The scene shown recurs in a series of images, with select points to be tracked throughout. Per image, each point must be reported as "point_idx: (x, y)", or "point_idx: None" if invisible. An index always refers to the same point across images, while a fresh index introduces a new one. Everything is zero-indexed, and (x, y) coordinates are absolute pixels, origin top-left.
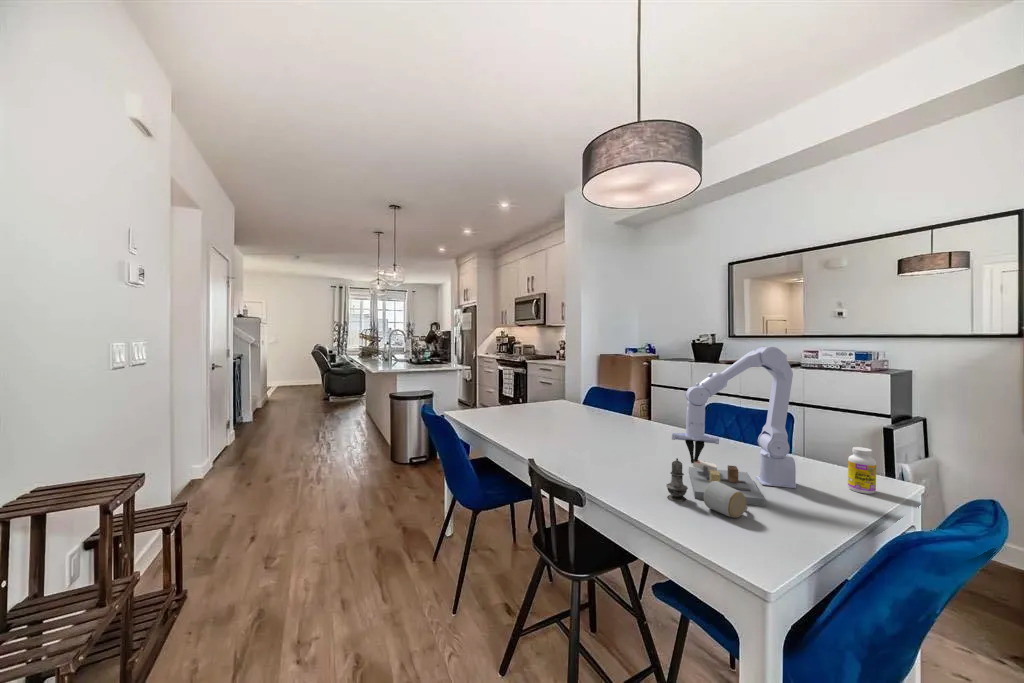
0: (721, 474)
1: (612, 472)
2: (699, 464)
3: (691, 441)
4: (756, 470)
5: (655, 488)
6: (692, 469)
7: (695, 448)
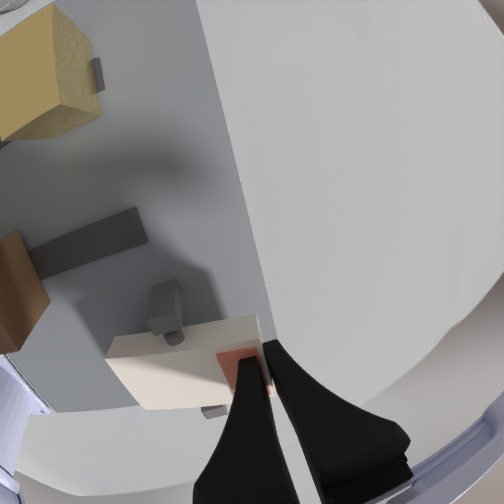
0: (104, 351)
1: (496, 172)
2: (215, 340)
3: (351, 495)
4: (90, 452)
5: (377, 30)
6: None
7: (283, 459)
